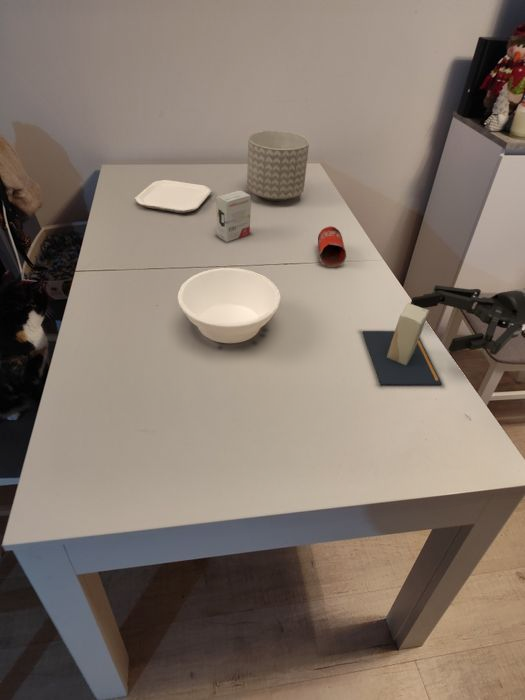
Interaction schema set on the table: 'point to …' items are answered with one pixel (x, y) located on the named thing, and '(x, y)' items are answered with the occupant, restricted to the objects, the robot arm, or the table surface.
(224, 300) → the bowl
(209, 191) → the plate
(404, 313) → the box
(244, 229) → the ink box
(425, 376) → the desk mat
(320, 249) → the beverage can
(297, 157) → the planter
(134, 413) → the table surface
